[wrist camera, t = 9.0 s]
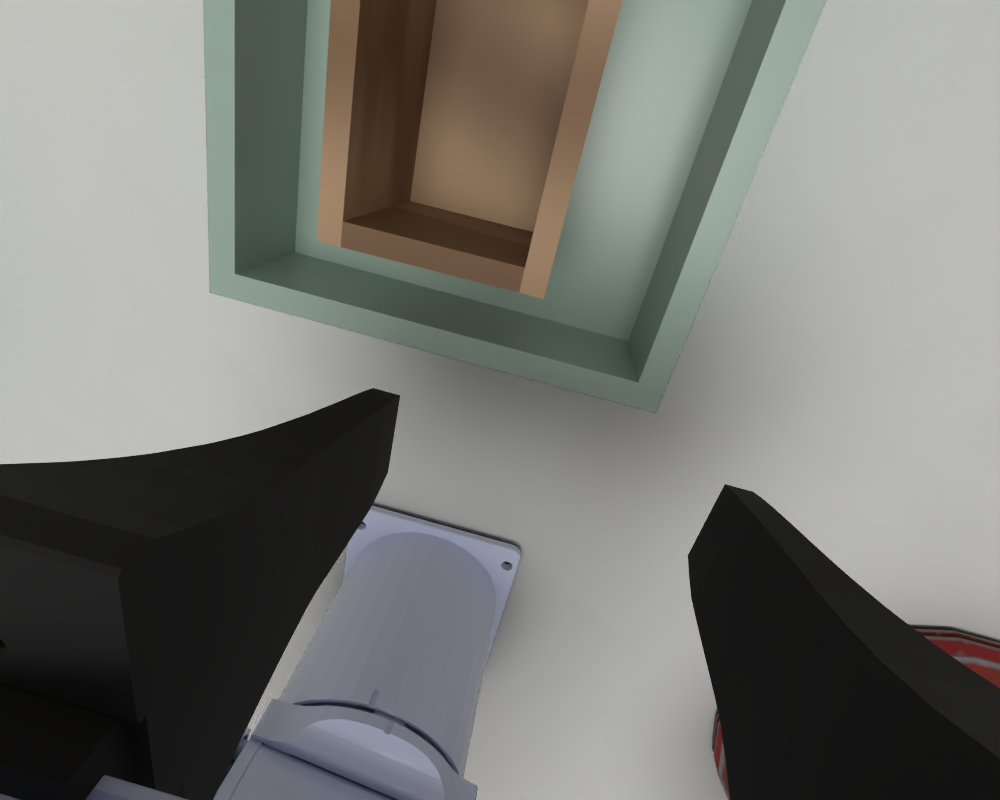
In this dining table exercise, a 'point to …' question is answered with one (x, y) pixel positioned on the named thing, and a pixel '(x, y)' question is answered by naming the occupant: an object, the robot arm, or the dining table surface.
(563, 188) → the walnut crate
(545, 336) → the sage crate
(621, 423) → the dining table surface
